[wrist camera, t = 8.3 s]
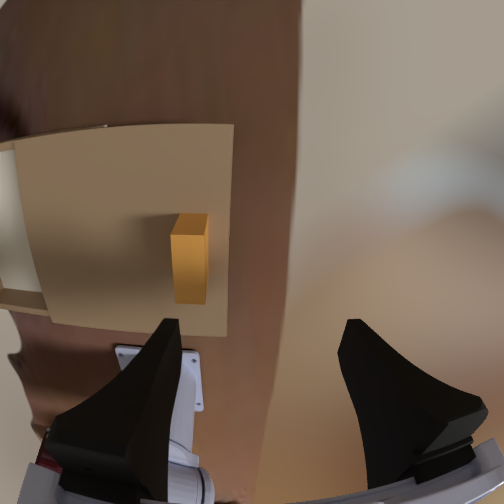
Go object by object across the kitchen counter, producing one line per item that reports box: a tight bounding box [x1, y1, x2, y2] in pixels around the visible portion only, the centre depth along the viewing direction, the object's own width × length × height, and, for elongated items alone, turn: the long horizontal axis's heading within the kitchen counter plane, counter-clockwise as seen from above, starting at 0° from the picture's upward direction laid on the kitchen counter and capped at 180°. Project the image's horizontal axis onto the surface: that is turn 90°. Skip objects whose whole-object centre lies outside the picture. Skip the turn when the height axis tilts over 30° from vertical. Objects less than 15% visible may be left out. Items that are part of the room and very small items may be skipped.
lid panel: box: [14, 123, 234, 337], centre depth 16 cm, size 14×14×4 cm
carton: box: [0, 125, 108, 316], centre depth 19 cm, size 14×14×3 cm
